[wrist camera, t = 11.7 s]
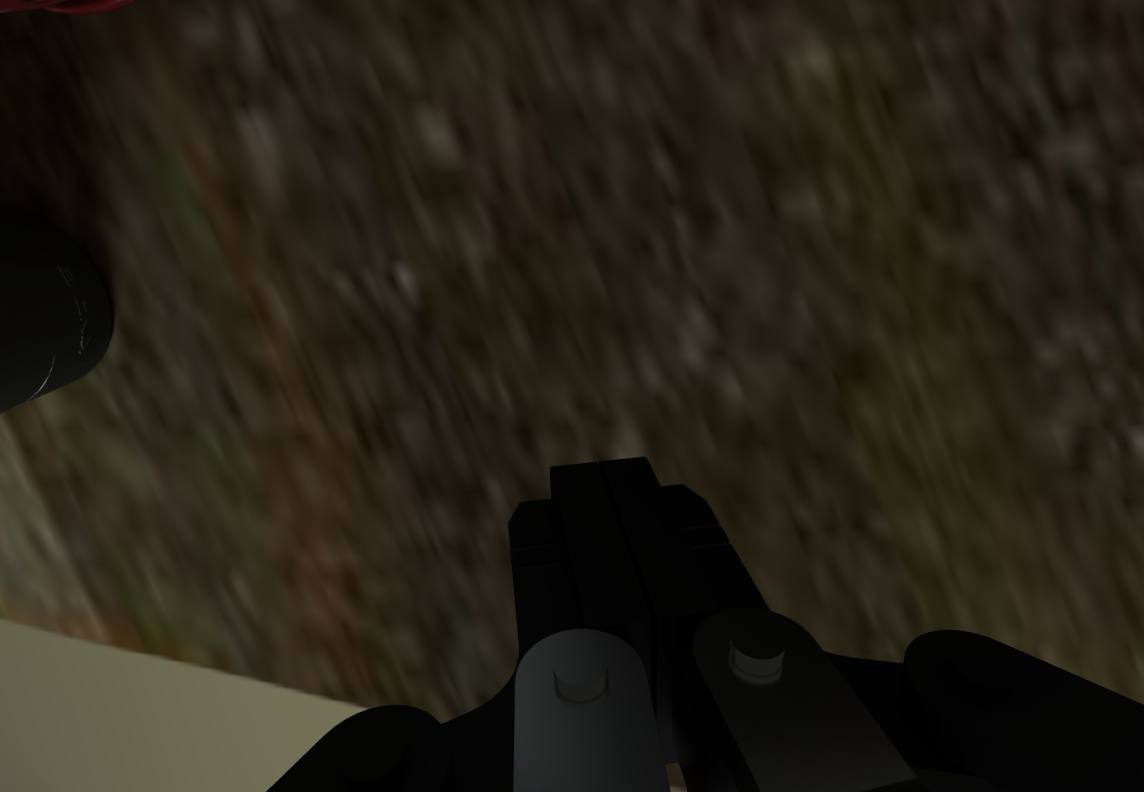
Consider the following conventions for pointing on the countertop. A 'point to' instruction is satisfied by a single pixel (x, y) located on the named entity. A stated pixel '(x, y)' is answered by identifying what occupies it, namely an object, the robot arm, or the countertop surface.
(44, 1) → the plant pot
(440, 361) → the countertop surface
